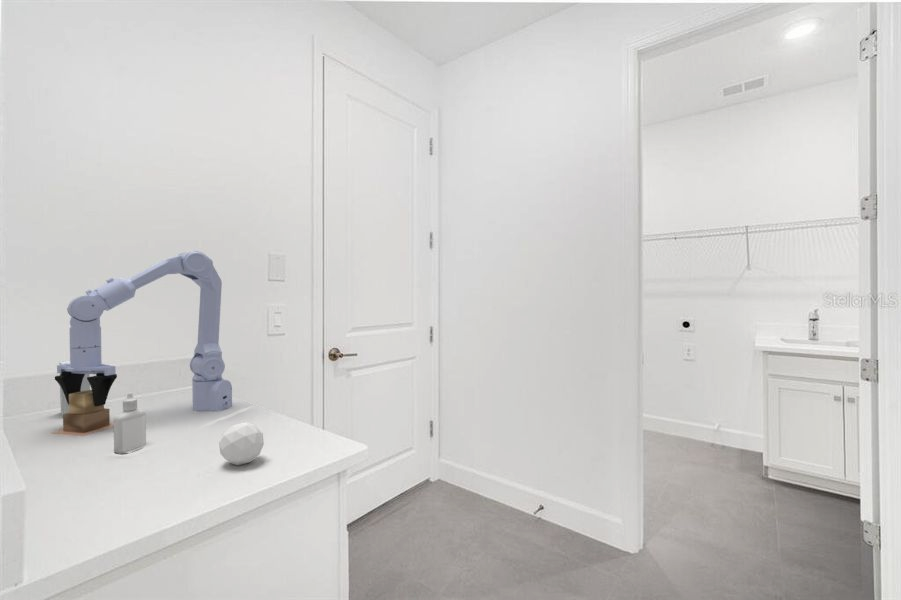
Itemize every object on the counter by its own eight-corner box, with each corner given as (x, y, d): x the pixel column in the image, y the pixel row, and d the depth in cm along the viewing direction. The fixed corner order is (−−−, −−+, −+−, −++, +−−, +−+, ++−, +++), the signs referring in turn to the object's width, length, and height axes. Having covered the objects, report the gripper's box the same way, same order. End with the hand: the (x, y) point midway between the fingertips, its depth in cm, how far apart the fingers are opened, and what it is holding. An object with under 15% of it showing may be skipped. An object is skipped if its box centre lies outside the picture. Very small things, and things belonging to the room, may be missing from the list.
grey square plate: (165, 419, 114) (165, 416, 114) (103, 441, 97) (103, 437, 97) (114, 416, 117) (114, 413, 117) (45, 436, 101) (45, 432, 101)
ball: (242, 480, 84) (228, 457, 79) (219, 457, 87) (204, 434, 83) (276, 452, 88) (265, 428, 83) (253, 431, 92) (241, 407, 87)
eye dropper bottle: (148, 449, 92) (148, 392, 92) (115, 456, 88) (114, 397, 88) (144, 444, 95) (143, 389, 95) (112, 451, 91) (111, 393, 91)
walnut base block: (109, 425, 106) (109, 408, 106) (84, 433, 100) (84, 415, 100) (89, 423, 107) (89, 407, 107) (63, 431, 101) (62, 414, 101)
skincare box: (91, 417, 116) (91, 361, 116) (61, 422, 112) (60, 363, 111) (88, 411, 122) (88, 357, 122) (59, 415, 118) (58, 360, 117)
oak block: (103, 409, 105) (103, 390, 105) (85, 414, 101) (84, 394, 101) (88, 408, 106) (88, 389, 106) (69, 413, 102) (68, 394, 102)
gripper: (42, 348, 101) (43, 407, 101) (94, 349, 98) (95, 410, 98) (74, 344, 108) (75, 399, 108) (123, 346, 105) (124, 402, 105)
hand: (86, 404), depth 104 cm, fingers open, 7 cm apart
